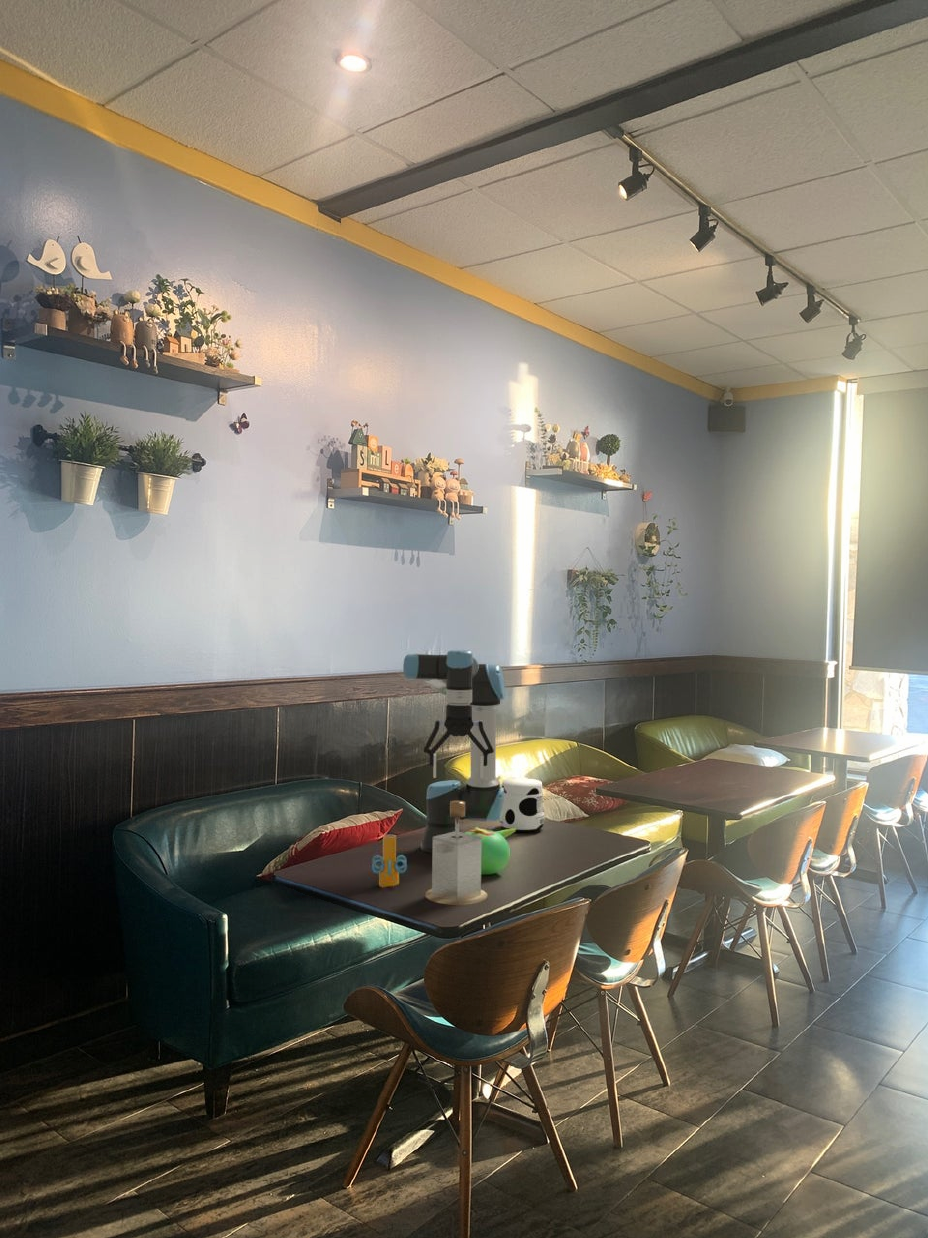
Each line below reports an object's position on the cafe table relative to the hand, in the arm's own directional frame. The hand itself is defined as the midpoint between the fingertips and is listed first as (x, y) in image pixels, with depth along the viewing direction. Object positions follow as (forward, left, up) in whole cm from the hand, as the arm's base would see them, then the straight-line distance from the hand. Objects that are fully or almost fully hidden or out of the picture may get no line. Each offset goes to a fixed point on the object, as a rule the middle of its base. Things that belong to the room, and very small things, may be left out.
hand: (458, 777), depth 272 cm
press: (0, 0, -34) cm, 34 cm away
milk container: (-39, +78, -35) cm, 94 cm away
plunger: (0, 0, -27) cm, 27 cm away
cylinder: (-22, -6, -35) cm, 42 cm away
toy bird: (-11, +24, -35) cm, 44 cm away
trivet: (0, 0, -35) cm, 35 cm away
